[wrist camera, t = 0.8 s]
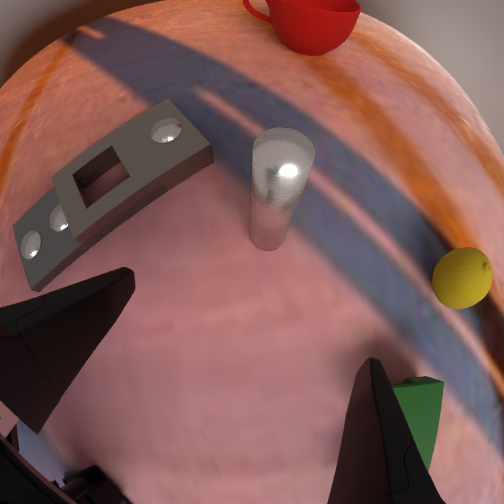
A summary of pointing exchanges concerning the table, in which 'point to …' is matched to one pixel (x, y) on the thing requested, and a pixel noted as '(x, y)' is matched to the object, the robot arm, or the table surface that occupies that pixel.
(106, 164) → the plate
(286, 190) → the steel pin
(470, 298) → the lemon
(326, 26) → the ceramic cup
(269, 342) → the table surface
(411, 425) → the clamp
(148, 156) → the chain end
